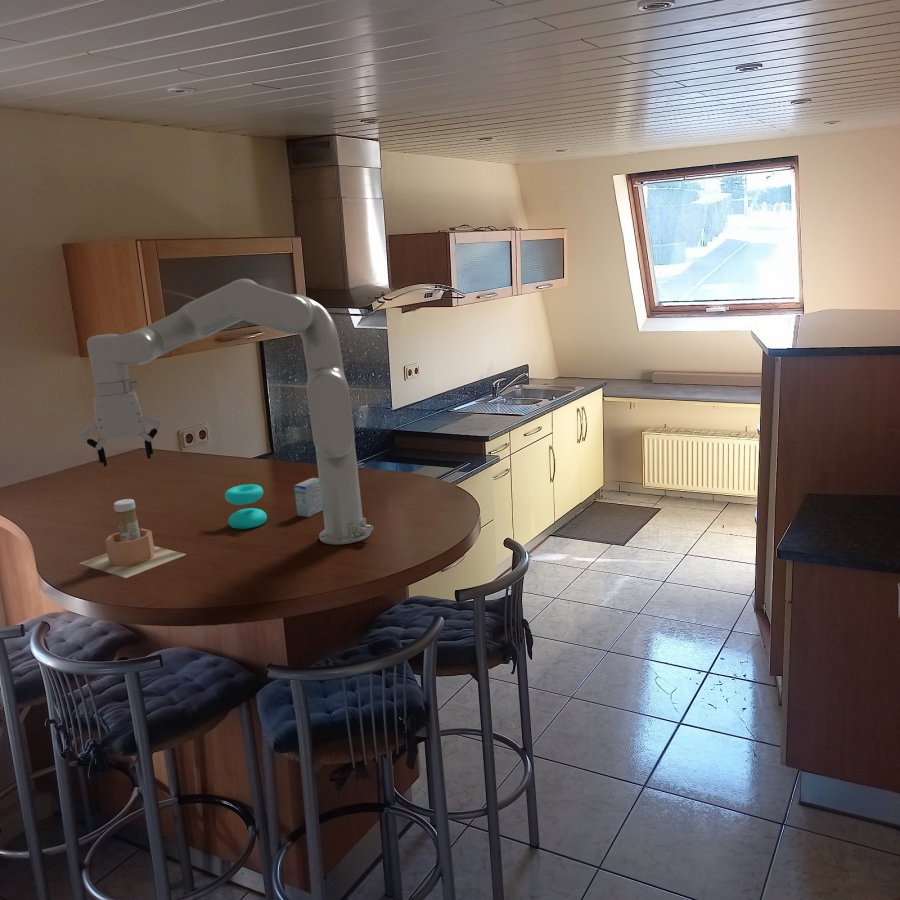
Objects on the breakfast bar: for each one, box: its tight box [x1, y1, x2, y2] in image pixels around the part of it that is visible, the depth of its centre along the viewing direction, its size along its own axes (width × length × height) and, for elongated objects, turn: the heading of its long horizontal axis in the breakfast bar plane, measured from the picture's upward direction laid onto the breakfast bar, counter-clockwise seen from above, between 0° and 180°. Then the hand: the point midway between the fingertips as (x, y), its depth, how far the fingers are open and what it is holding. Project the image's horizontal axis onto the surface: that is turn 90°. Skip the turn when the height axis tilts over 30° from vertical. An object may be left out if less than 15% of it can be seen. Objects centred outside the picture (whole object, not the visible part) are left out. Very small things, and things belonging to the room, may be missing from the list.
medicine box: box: [293, 477, 323, 518], centre depth 226 cm, size 8×4×9 cm, turn 149°
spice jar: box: [113, 498, 140, 542], centre depth 195 cm, size 5×5×13 cm
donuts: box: [224, 483, 268, 530], centre depth 220 cm, size 10×10×10 cm
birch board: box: [78, 545, 187, 579], centre depth 197 cm, size 20×16×2 cm
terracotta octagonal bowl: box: [105, 528, 155, 566], centre depth 196 cm, size 10×10×6 cm
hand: (127, 461), depth 193 cm, fingers open, 9 cm apart
